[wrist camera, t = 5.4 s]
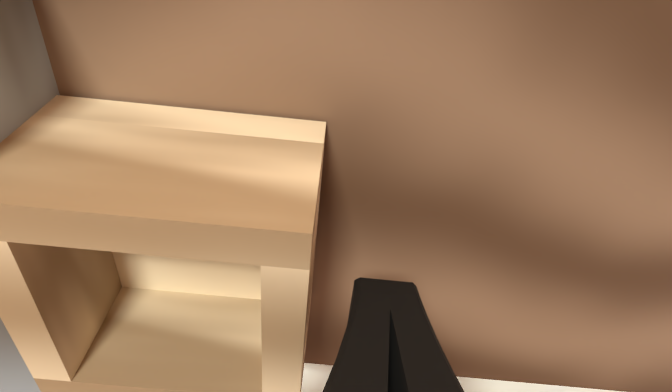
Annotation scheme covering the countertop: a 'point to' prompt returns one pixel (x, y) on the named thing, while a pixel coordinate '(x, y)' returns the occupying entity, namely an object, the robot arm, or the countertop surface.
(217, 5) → the backstop board
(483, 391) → the countertop surface
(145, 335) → the hollow square maple frame
